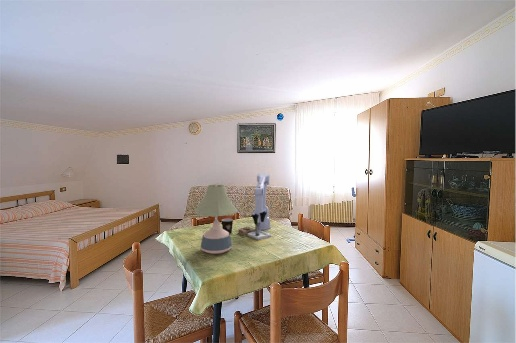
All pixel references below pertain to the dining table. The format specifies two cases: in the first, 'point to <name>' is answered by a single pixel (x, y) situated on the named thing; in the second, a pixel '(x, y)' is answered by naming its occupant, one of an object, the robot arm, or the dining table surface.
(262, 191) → the robot arm
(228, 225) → the coffee mug
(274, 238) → the dining table surface
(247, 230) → the hitch block
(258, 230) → the pin
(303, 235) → the dining table surface
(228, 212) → the desk lamp
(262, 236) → the tray
